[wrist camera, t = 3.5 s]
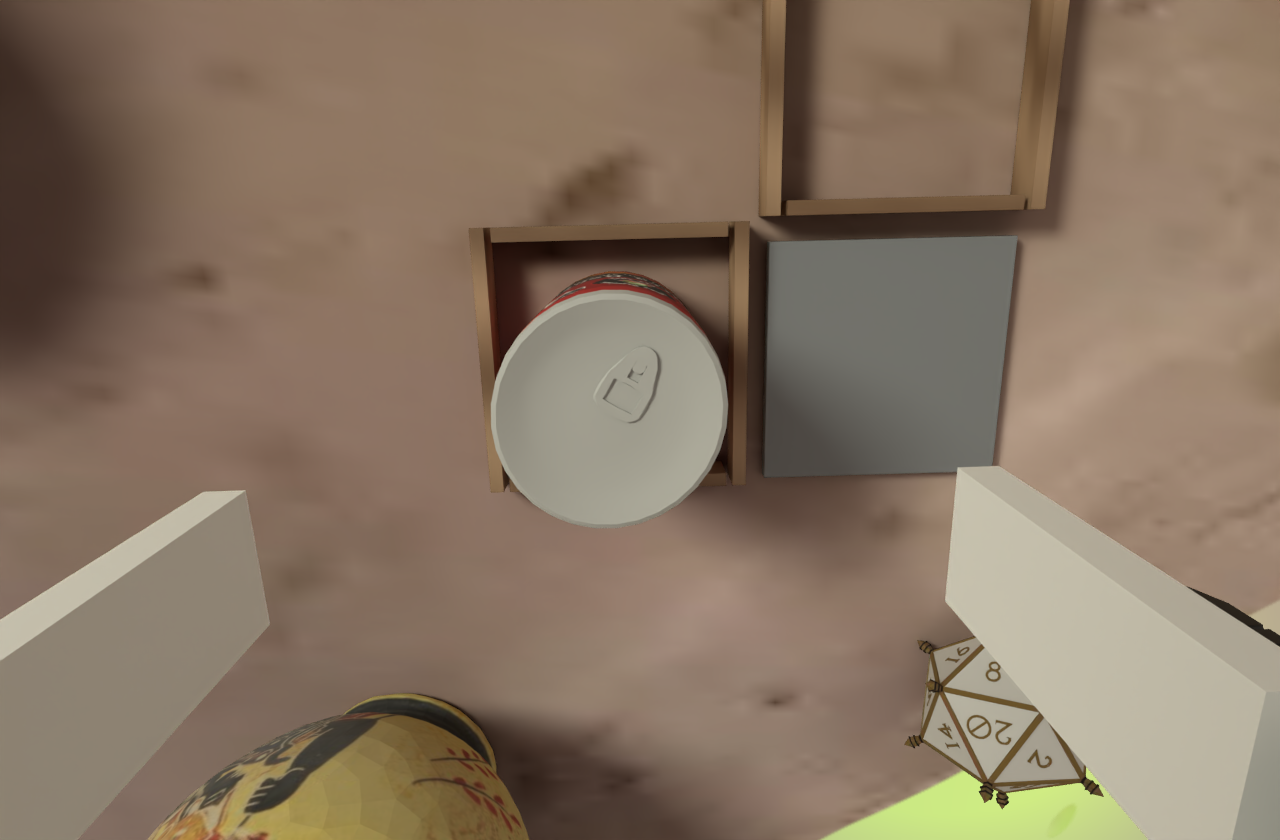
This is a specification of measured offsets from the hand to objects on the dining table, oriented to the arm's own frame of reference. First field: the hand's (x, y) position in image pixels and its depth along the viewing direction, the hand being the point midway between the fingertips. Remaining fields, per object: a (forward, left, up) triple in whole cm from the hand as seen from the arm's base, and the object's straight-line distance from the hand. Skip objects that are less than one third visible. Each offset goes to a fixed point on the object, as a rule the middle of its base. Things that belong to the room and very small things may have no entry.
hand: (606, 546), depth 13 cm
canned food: (0, 0, -21) cm, 21 cm away
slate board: (+1, +12, -21) cm, 24 cm away
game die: (+17, +18, -21) cm, 32 cm away
